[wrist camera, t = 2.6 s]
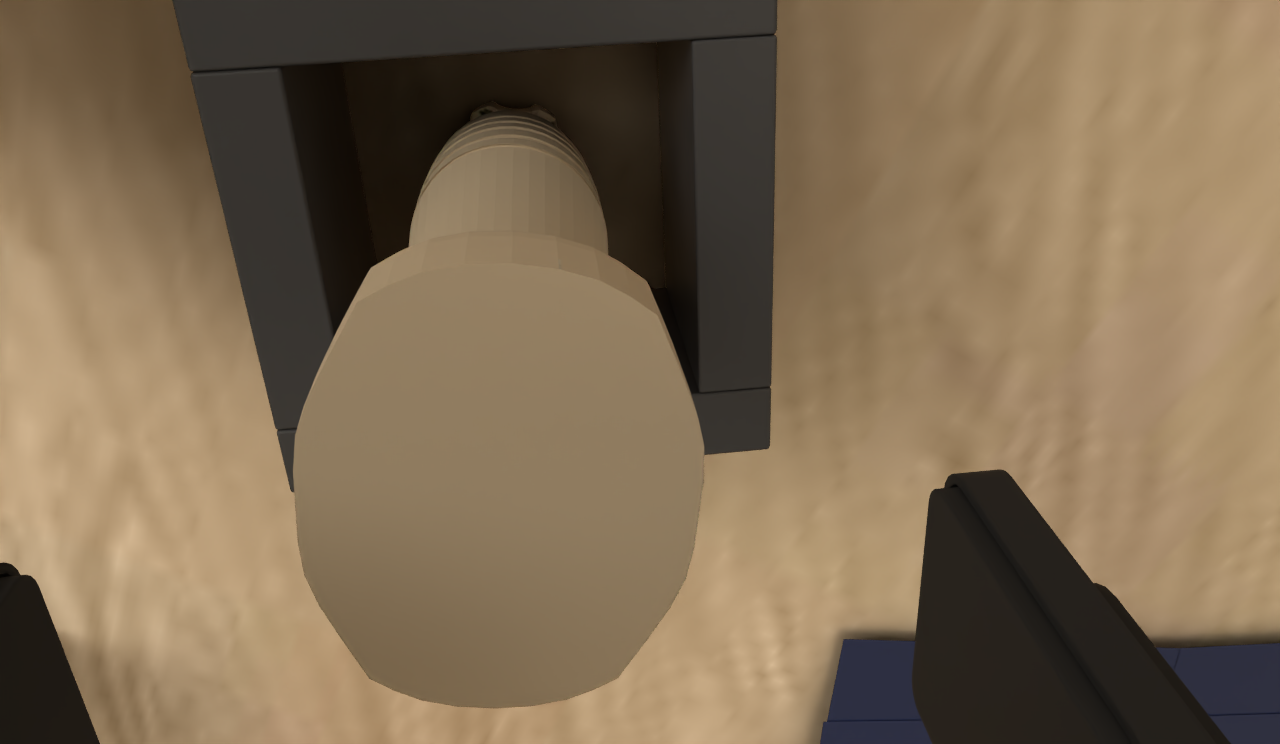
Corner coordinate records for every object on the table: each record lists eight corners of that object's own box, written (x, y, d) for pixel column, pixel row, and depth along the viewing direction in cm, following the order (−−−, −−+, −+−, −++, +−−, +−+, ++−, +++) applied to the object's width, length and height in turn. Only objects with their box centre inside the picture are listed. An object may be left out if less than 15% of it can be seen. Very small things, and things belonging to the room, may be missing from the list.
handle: (619, 34, 25) (733, 273, 11) (599, 285, 28) (671, 707, 14) (412, 18, 24) (277, 251, 11) (413, 276, 27) (308, 709, 14)
